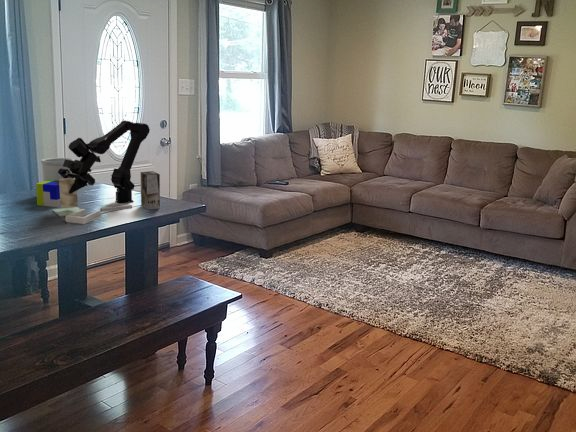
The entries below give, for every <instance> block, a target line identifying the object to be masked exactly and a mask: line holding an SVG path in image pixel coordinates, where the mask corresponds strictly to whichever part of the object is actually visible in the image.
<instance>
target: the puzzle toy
mask: <svg viewBox="0 0 576 432" xmlns="http://www.w3.org/2000/svg"><path fill="white" fill-rule="evenodd" d="M35 188H36V189H35V190H36V205H37V206H42V207H43V206H45V207H53V208H58V207H61V206H60V188H59V181H57V180H46V181H44V180H43V181H40V182H37V183H35Z"/></svg>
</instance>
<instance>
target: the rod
mask: <svg viewBox="0 0 576 432" xmlns="http://www.w3.org/2000/svg"><path fill="white" fill-rule="evenodd" d="M132 208H133V204H126V205H125V204H124V205H114V206H105V207H100V211H101V212H108V211H110V212H111V211H116V210H117V211H118V210H127V209H132Z"/></svg>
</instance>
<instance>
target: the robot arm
mask: <svg viewBox="0 0 576 432" xmlns="http://www.w3.org/2000/svg"><path fill="white" fill-rule="evenodd" d="M150 130H151V129H150V126H149V125H148V124H147V123H143V122H132V121H130V120H122V121H120V122H119V124H117V125H116V126H115V127H113V128H112V129H111V130H110V131H108V132H107V133H106V134H104V135H103V136H99V137H96V138H94V139H93V140H90V141H89V143H86V142H85V141H84V139H83V138H82V137H78V138H76V139H74V140H73V141H72V142H70V143H69V144H68V149H69V150H70V151H71V152H72V153H73V154H74V155H75V157H77V158H80V159H79V160H78V159H74V161H71V160H66V159H65V161H64V164H63V167H67V168H70V169H69V170H70V171H72V173H71V172H70V171H69V170H68V169H64V168H61V169H59V171H58V173H59V174H60V175H61V176H62V177H63V179H65V178H72V179H73V178H74V179H75V182H74V184H73V186H72V187H71V189H70V191H69V193H70V194H71V193H73V192H75V191H77V192H78V190H80V189H83V188H85V187H87V186H93V187H94V184H95V183H96V179H95V178H94V177H93V176H92V175H91V174H90V173H91V172H92V169H91V168H92V167H93V166H94V164H95V163H101V161H102V160H101V156H99V155H104V154H105V153H106V152H108V150H109V149H110V147H111V145H112V144H113V143H114V142H115V141H117V140H118V139H119V138H120V137H122V136H123V135H124V134H126V133H127V132H129V131H130V132H129V135H130V140H129V143H128V146H127V147H126V151H125V153H124V155H123V159H122V161H121V163H120V166H119V167H118V168H113V171H112V174H111V175H110V176H111V179H110V180H111V184H112V185H113V187H114V189H116V191H115V201H116V202H118V203H120V204H125V203H126V204H127V203H133V202H134V200H133V195H132V194H133V190H134V189H135V184H134V183H133V182H132V181H131V178H132V173H131V169H132V167H133V164H134V161H135V159H136V157H137V153H138V151H139V149H140V146H141V144H142V142H144V141H145V140H146V138H147V137H148V135H149V133H150ZM96 154H98V155H96Z"/></svg>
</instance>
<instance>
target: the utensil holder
mask: <svg viewBox="0 0 576 432" xmlns="http://www.w3.org/2000/svg"><path fill="white" fill-rule="evenodd" d="M65 159H66V160H71V161H74V160H75V159H74V158H71V157H50V158H49V157H48V158H42V159H41V161H40V162H41V164H42V177H43V181H46V180H57V181H59V179H63V177H62V176H61V175H60V174H59V173H58V171H59V169H61V168H64V169H68V170H69V169H70V168H67V167H63V164H64V161H65ZM69 171H70V170H69ZM70 172H71V173H72V171H70ZM73 179H75V178H73Z"/></svg>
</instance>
